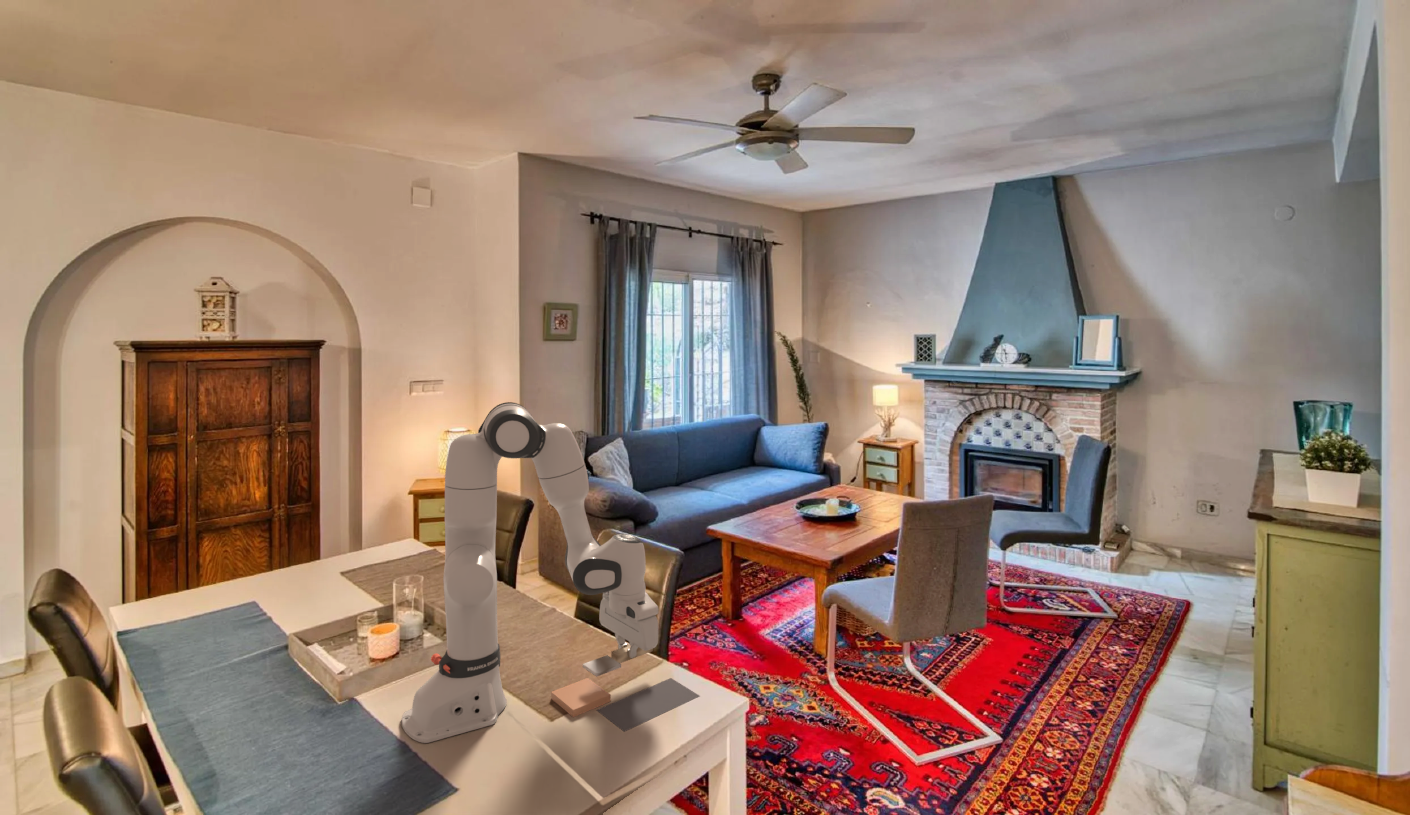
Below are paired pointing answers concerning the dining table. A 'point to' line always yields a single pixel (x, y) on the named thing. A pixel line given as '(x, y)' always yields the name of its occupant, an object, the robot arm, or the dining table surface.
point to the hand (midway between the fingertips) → (627, 653)
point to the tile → (580, 697)
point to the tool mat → (647, 704)
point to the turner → (611, 661)
